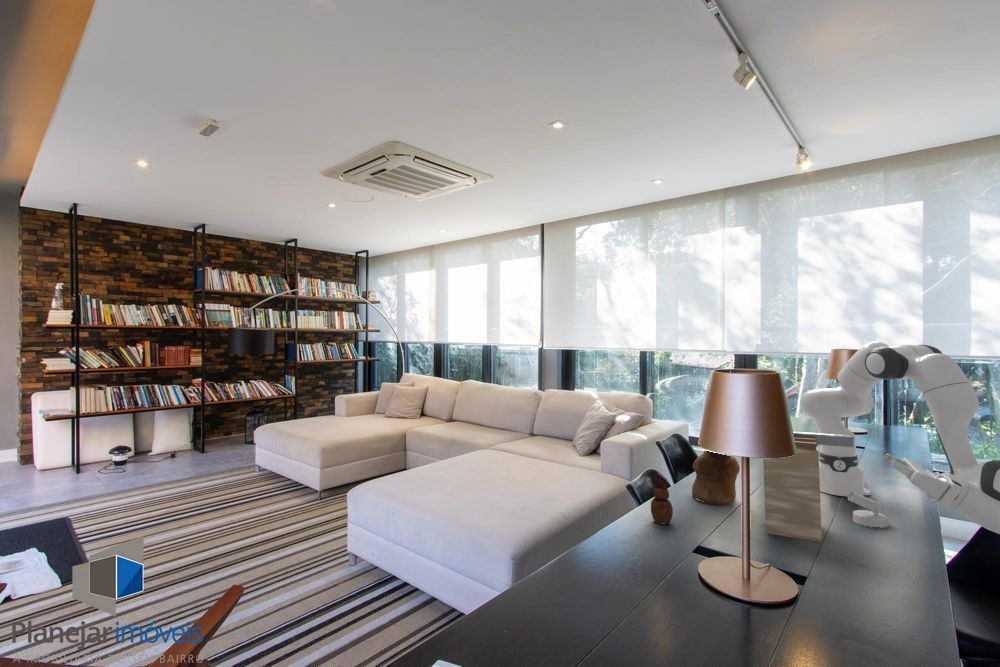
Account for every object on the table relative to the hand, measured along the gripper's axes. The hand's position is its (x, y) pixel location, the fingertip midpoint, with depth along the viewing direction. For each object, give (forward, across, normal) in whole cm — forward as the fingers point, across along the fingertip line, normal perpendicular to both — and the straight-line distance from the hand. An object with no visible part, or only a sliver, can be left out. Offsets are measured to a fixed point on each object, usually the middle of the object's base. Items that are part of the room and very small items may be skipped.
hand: (887, 459), depth 137 cm
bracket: (+17, 0, +6) cm, 18 cm away
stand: (+10, +4, +32) cm, 34 cm away
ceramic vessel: (+30, -12, +43) cm, 54 cm away
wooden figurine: (+41, +17, +50) cm, 67 cm away
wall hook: (-8, -13, +22) cm, 27 cm away
